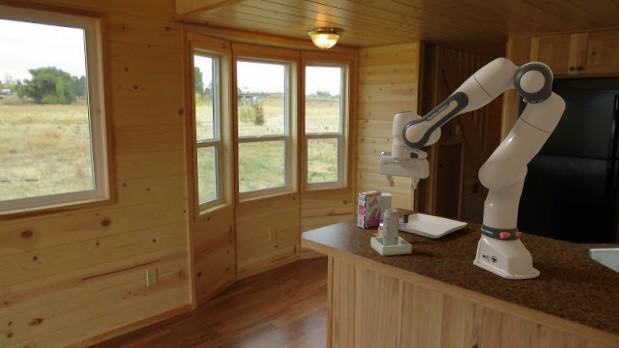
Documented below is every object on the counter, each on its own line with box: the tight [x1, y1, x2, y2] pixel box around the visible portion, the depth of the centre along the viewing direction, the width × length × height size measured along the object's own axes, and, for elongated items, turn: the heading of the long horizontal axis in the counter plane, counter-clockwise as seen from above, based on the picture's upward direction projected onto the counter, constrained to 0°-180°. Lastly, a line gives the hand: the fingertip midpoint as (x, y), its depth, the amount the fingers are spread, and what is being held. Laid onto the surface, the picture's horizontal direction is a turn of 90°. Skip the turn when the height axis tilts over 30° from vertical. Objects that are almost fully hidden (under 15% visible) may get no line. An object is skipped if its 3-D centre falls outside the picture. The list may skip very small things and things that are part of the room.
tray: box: [370, 235, 412, 257], centre depth 169 cm, size 12×12×4 cm
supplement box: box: [380, 192, 393, 221], centre depth 214 cm, size 7×7×13 cm
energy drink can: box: [382, 208, 400, 246], centre depth 169 cm, size 6×6×15 cm
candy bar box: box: [356, 190, 382, 230], centre depth 201 cm, size 11×5×16 cm, turn 130°
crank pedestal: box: [372, 227, 383, 237], centre depth 183 cm, size 14×6×6 cm, turn 14°
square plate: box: [399, 212, 468, 239], centre depth 197 cm, size 27×27×4 cm
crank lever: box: [378, 212, 410, 229], centre depth 179 cm, size 13×5×6 cm, turn 102°
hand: (402, 187), depth 169 cm, fingers open, 8 cm apart
